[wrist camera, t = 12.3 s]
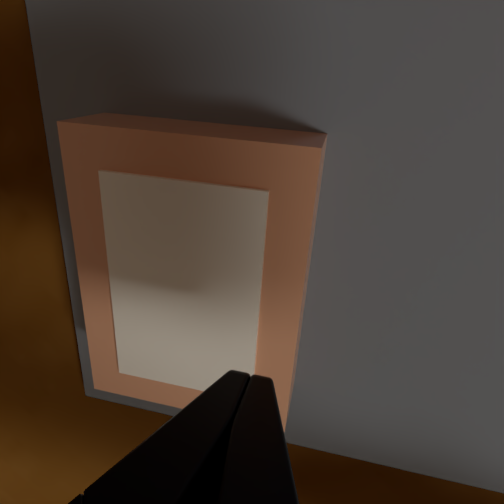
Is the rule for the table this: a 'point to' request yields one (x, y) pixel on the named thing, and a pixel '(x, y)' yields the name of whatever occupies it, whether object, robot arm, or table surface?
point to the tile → (190, 250)
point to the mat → (337, 194)
